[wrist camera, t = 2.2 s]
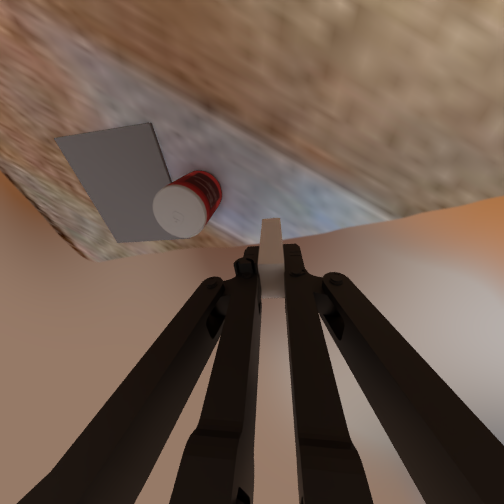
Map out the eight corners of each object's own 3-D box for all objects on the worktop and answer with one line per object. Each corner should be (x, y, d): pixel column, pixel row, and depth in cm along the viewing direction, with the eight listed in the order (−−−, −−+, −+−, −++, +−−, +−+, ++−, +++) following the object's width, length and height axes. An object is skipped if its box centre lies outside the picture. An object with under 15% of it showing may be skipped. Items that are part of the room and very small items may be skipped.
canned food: (182, 205, 37) (153, 231, 28) (183, 163, 32) (149, 178, 23) (219, 216, 37) (202, 244, 28) (226, 176, 33) (208, 194, 24)
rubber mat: (57, 138, 32) (53, 138, 31) (151, 122, 29) (149, 122, 29) (119, 241, 43) (117, 242, 43) (190, 237, 41) (189, 238, 40)
